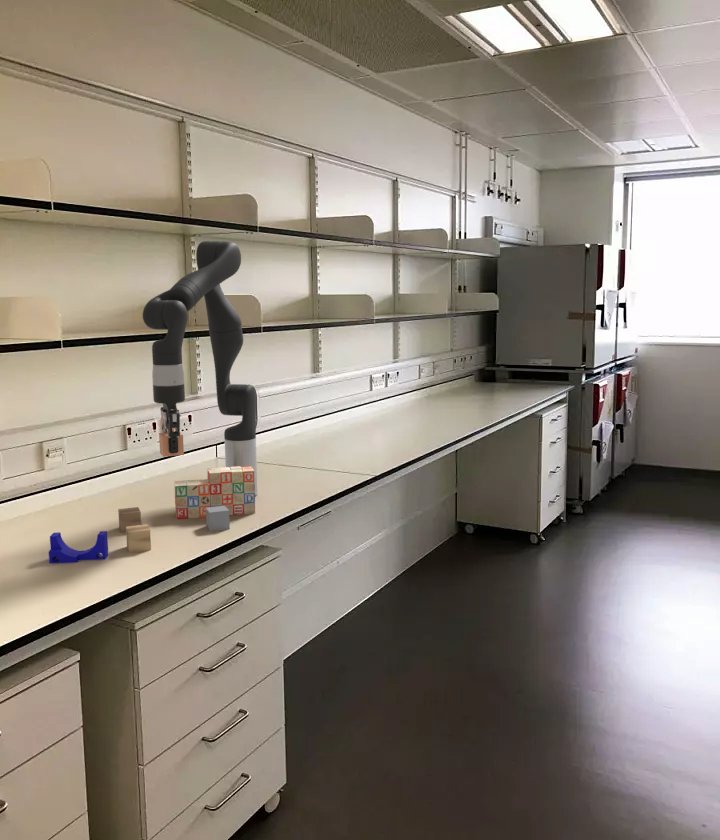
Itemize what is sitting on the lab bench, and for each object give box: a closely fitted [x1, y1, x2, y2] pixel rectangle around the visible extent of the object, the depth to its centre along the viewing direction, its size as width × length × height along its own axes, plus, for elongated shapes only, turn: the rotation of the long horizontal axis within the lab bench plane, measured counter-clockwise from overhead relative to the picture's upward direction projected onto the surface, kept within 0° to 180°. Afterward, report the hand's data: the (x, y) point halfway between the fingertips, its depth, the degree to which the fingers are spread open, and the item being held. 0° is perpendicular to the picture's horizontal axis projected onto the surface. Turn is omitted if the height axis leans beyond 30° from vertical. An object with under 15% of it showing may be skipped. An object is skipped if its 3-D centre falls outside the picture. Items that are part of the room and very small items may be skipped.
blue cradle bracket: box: [48, 530, 109, 564], centre depth 181 cm, size 12×4×6 cm, turn 95°
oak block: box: [125, 523, 152, 554], centre depth 189 cm, size 5×5×5 cm
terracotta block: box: [158, 432, 185, 457], centre depth 196 cm, size 5×5×5 cm
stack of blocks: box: [174, 466, 256, 520], centre depth 217 cm, size 21×6×12 cm, turn 104°
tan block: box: [117, 506, 142, 534], centre depth 204 cm, size 5×5×5 cm
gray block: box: [205, 506, 231, 532], centre depth 205 cm, size 5×5×5 cm
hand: (171, 450), depth 197 cm, fingers closed on terracotta block, 5 cm apart
